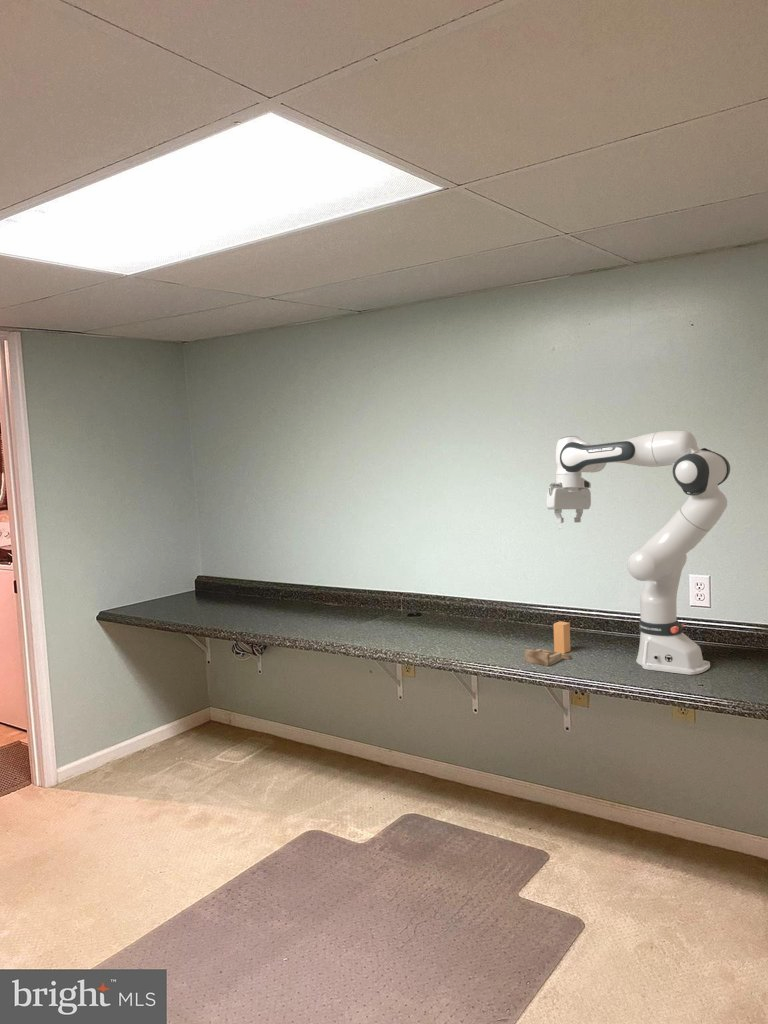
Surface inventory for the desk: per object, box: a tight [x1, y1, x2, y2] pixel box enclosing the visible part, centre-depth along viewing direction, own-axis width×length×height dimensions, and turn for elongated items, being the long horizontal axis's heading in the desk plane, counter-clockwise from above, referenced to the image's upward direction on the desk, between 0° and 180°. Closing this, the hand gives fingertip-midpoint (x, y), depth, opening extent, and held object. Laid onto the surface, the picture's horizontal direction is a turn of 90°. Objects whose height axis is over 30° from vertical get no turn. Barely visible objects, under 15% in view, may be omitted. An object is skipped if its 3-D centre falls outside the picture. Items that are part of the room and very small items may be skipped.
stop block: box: [553, 620, 571, 654], centre depth 270 cm, size 4×4×10 cm
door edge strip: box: [542, 649, 572, 661], centre depth 265 cm, size 12×2×1 cm, turn 45°
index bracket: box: [524, 648, 563, 667], centre depth 261 cm, size 9×8×4 cm
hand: (569, 522), depth 271 cm, fingers open, 8 cm apart
